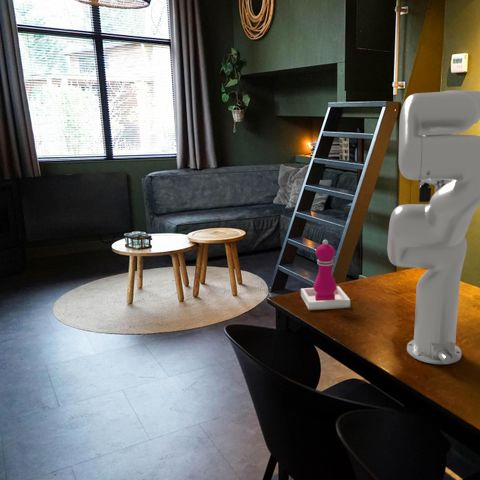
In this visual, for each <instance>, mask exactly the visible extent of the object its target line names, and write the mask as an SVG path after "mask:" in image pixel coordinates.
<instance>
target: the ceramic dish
mask: <svg viewBox="0 0 480 480" xmlns="http://www.w3.org/2000/svg"><path fill="white" fill-rule="evenodd" d="M336 286H337V289H336V291H335V292H334V294H335V300H322V301H316V300H315V294H316V293H317V292H316V291H315V290H314V287H306V288H300V296H301V299H302V300H303V302H304V303H305V305H306V306H305V307H307V309H308V311H316V310H319V311H320V310H329V309H330V310H334V309H345V308H346V309H348V308H349V309H350V308H351V299H350V298H349V297H348V295H347V294H346V293H345V291H343V290H342V288H341V287H340V286H339V285H336Z"/></svg>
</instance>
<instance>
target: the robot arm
mask: <svg viewBox="0 0 480 480" xmlns="http://www.w3.org/2000/svg"><path fill="white" fill-rule="evenodd" d="M479 121H480V90H460V89H459V90H457V89H456V90H455V89H453V90H452V89H451V90H449V89H447V90H445V91H436V92H435V91H434V92H433V91H432V92H420V93H419V92H417V93H413V94H410V95H409V96H407V98H406V99H405V100H404V102H403V104H402V105H401V109H400V115H399V123H398V124H399V125H398V126H399V128H398V129H399V130H398V131H399V132H398V133H399V134H398V137H399V138H398V169H399V172H400V173H401V175H402V177H403V178H405V179H407V180H410V181H411V180H412V181H418V188H419V191H418V202H419V203H416V204H415V203H407V204H400V205H398V206H396V207H395V208H394V209H393V211H392V213H391V215H390V219H389V225H388V236H387V247H386V248H387V256H388V260H389V262H390V263H391V264H392V266H393V265H394V266H395V267H399V268H411V269H412V268H416V269H417V268H418V269H419V268H420V269H426V271H425V272H424V273H423V274H422V275H421V277H420V278H419V279H418V281H417V284H416V294H415V309H414V310H415V311H414V331H413V339H412V340H410V341H409V342H408V343H407V345H406V351H407V353H408V355H410V356H411V357H412V358H413V359H416V360H418V361H420V362H424V363H427V364H432V365H450V364H451V365H452V364H454V363H457V362H459V361H460V360H461V359H462V350H461V348H460V347H459V346H457V345H456V339H457V338H456V336H457V335H456V334H457V325H458V324H457V323H458V310H459V309H458V308H459V299H460V297H459V296H460V287H461V286H460V284H461V277H462V271H463V270H462V269H463V267H464V262H465V259H466V255H467V249H468V247H467V246H468V242H467V239H466V234H467V232H468V230H469V227H470V225H471V221H472V219H473V216H474V213H475V211H477V209H478V208H479V207H480V135H475V134H462V133H464V132H467V131H468V130H469V129H470V128H472V127H473V126H474V125H475V124H478V123H479ZM431 186H434V187H435V191H436V192H434V194H433V195H432V187H431ZM431 195H432V196H431ZM420 203H421V204H420ZM424 203H425V204H424Z"/></svg>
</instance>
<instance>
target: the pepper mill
mask: <svg viewBox="0 0 480 480" xmlns="http://www.w3.org/2000/svg"><path fill="white" fill-rule="evenodd" d="M335 254H336V251H335V248H334V247H333V246H332V245H331V244H329V241H328V240H327V239H323V241H322V244H320V245H318V246H317V247H316V249H315V257H316V258H317V260H316V261H317V262H316V263H317V265H318V273H317V275H316V278H315V281H314V283H313V288H314V290H315V291H316V292H317V293H316V294H315V300H316V301H322V300H335V294H334V292H335V291H336V289H337V286H338V285H337V283H336V279H335V278H334V275H333V271H332V269H333V268H332V267H333V265H334V257H335Z"/></svg>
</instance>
